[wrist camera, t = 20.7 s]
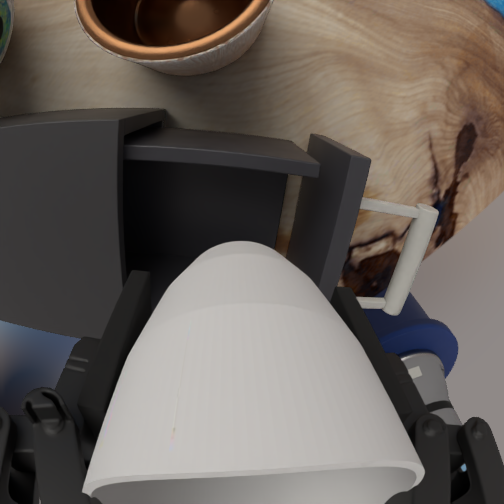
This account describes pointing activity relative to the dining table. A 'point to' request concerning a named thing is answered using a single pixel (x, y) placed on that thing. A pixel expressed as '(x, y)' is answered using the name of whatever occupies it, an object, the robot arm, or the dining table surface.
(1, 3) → the decorative object
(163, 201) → the drawer
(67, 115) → the cabinet
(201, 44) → the planter
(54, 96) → the dining table surface
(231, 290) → the cup
